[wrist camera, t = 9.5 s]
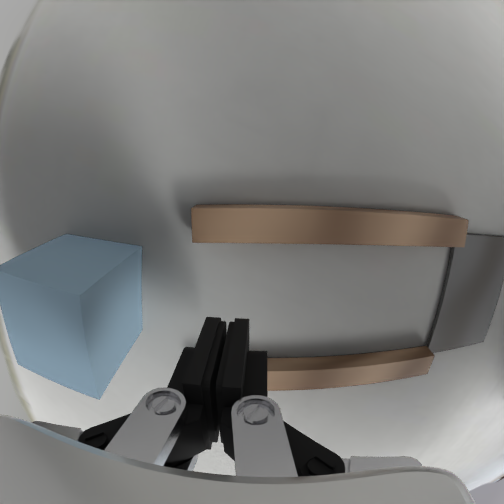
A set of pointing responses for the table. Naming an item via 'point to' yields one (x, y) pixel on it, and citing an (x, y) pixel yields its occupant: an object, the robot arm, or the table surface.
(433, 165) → the table surface
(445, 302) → the guide channel
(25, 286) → the block
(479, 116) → the table surface
